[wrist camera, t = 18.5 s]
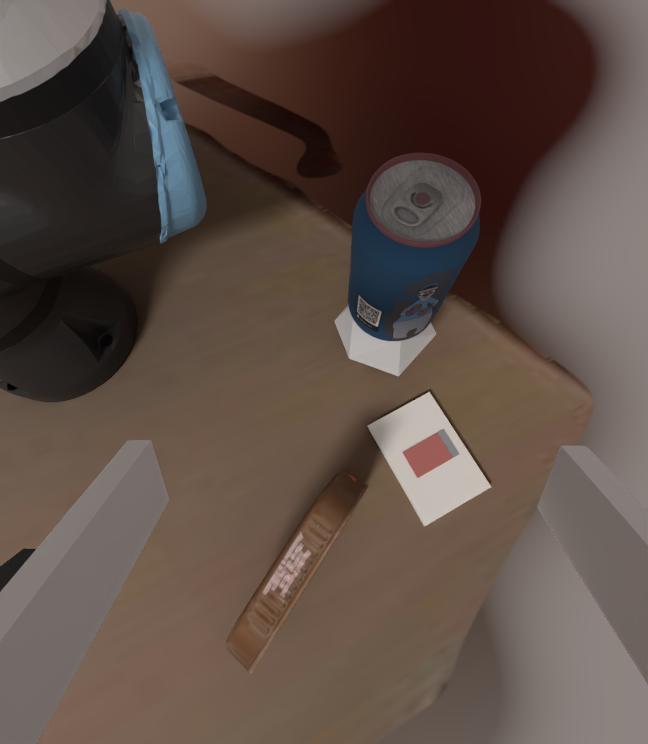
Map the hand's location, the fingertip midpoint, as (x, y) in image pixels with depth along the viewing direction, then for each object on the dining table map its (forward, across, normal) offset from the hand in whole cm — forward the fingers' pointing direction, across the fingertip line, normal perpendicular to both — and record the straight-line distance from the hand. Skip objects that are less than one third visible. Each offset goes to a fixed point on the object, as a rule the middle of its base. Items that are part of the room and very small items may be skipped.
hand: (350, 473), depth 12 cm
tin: (+11, -3, -20) cm, 23 cm away
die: (+25, +4, -6) cm, 26 cm away
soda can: (+20, +4, 0) cm, 20 cm away
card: (+17, +8, -14) cm, 23 cm away
